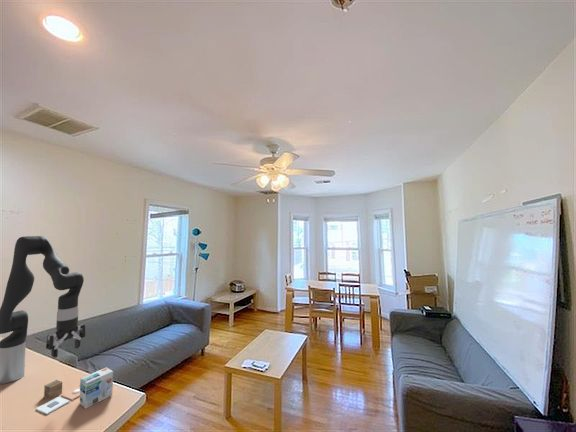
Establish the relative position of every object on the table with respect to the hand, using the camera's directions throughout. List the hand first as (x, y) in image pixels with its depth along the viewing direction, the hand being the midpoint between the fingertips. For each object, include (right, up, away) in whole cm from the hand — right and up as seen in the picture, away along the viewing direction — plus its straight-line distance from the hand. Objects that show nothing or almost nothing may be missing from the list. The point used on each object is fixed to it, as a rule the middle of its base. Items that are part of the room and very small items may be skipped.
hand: (66, 352), depth 116 cm
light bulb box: (+16, -20, -3) cm, 26 cm away
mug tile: (+4, -19, +1) cm, 20 cm away
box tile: (+1, -19, -7) cm, 20 cm away
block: (-6, -20, 0) cm, 20 cm away
